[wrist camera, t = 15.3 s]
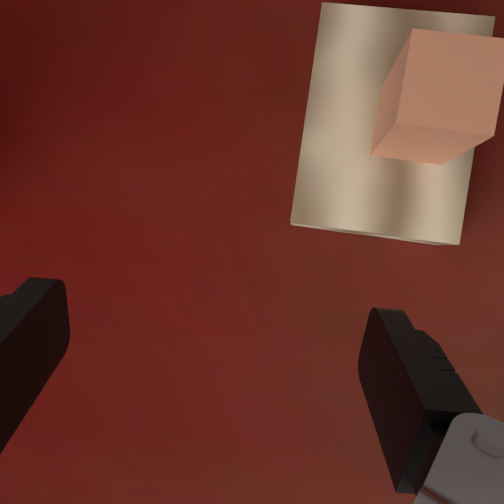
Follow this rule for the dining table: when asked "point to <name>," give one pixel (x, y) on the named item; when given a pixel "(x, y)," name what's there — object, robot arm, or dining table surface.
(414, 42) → the terracotta block
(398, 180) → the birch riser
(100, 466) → the dining table surface
